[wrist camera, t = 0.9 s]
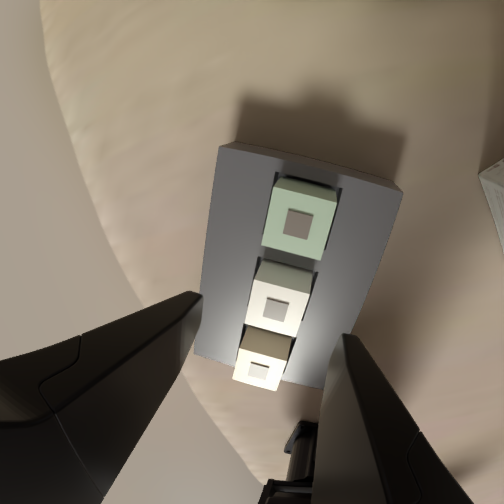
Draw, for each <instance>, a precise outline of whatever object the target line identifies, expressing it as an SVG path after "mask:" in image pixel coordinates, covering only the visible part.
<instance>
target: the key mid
mask: <svg viewBox="0 0 504 504" xmlns="http://www.w3.org/2000/svg"><path fill="white" fill-rule="evenodd" d="M312 273H313V271H312V270H309V269H305V268H301V267H297V266H293V265H290V264H286V263H282V262H278V261H274V260H271V259H267V258H263V260H262V263H261V265H260V267H259V269H258V271H257V274H256V276H255V278H254V281H253V286H252V291H251V295H250V300H249V305H248V310H247V314H246V319H245V324H248V325H252V326H255V327H259V328H262V329H266V330H270V331H273V332H277V333H281V334H285V335H288V336H292V337H296V334H297V331H298V329H299V326H300V323H301V320H302V317H303V314H304V311H305V308H306V305H307V302H308V299H309V295H310V289H311V282H312Z"/></svg>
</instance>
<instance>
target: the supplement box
mask: <svg viewBox="0 0 504 504" xmlns="http://www.w3.org/2000/svg"><path fill="white" fill-rule="evenodd" d="M478 176H479V179H480V181H481V184H482V187H483V190H484V193H485V195H486V198H487V201H488V204H489V207H490V210H491V213H492V216H493V219H494V222H495V225H496V228H497V232H498V235H499V239H500V242H501V246H502V249H503V253H504V158H503V159H502V160H500V161H498V162H497V163H495V164H493V165H492V166H490V167H489V168H487V169H485V170H484V171H482V172H481V173H479V174H478Z"/></svg>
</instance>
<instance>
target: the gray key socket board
mask: <svg viewBox="0 0 504 504" xmlns="http://www.w3.org/2000/svg"><path fill="white" fill-rule="evenodd" d="M281 176H283V177H288V178H292V179H296V180H300V181H304V182H308V183H312V184H316V185H320V186H323V187H327V188H331V189H335V190H336V198H337V205H336V209H335V212H334V216H333V219H332V223H331V226H330V230H329V233H328V237H327V240H326V244H325V247H324V250H323V254H322V257H321V260H316V259H312V258H309V257H305V256H301V255H297V254H293V253H290V252H286V251H282V250H278V249H274V248H271V247H267V246H263V245H261V243H262V239H263V234H264V229H265V224H266V220H267V215H268V210H269V205H270V200H271V195H272V191H273V186H274V185H275V184H276V182H277V181H278V180H279V178H280V177H281ZM402 196H403V192H402V191H401V189H400V188H399V187H398V186H397V185H396V184H395V183H394V182H393V181H390V180H387V179H384V178H381V177H377V176H374V175H371V174H367V173H364V172H360V171H357V170H353V169H350V168H346V167H343V166H339V165H335V164H332V163H328V162H324V161H320V160H316V159H312V158H308V157H304V156H300V155H296V154H291V153H287V152H283V151H278V150H273V149H269V148H264V147H259V146H255V145H250V144H244V143H239V142H231V143H228V144H225V145H222V146H219V149H218V156H217V162H216V169H215V175H214V182H213V189H212V196H211V203H210V210H209V218H208V225H207V233H206V241H205V249H204V257H203V266H202V275H201V283H200V293H199V294H202V295H203V297H204V302H203V311H202V320H201V324H200V327H199V330H198V332H197V334H196V337H195V343H194V354H196V355H199V356H202V357H205V358H208V359H211V360H214V361H217V362H220V363H224V364H227V365H230V366H234V367H235V365H236V361H237V356H238V351H239V347H240V345H241V342H242V340H243V337H244V335H245V332H246V330H247V327H248V324H245V319H246V314H247V310H248V305H249V300H250V295H251V291H252V286H253V281H254V278H255V276H256V274H257V271H258V269H259V267H260V265H261V263H262V260H263V258H267V259H271V260H274V261H278V262H282V263H286V264H290V265H293V266H297V267H301V268H305V269H309V270H312V271H313V273H312V282H311V289H310V295H309V299H308V302H307V305H306V308H305V311H304V314H303V317H302V320H301V323H300V326H299V329H298V331H297V334H296V337H292V339H291V344H290V349H289V354H288V359H287V363H286V365H285V368H284V371H283V374H282V376H281V379H280V380H284V381H288V382H292V383H296V384H301V385H305V386H309V387H313V388H318V389H322V390H323V389H324V387H325V381H326V376H327V370H328V364H329V360H330V357H331V354H332V352H333V350H334V348H335V346H336V343H337V341H338V339H339V337H340V335H341V334H342V333H347V334H350V333H351V331H352V329H353V327H354V324H355V322H356V320H357V318H358V315H359V313H360V311H361V308H362V306H363V304H364V301H365V299H366V296H367V294H368V291H369V289H370V287H371V284H372V282H373V279H374V276H375V274H376V271H377V269H378V266H379V263H380V261H381V258H382V255H383V253H384V250H385V247H386V244H387V242H388V239H389V236H390V233H391V230H392V227H393V224H394V221H395V218H396V215H397V212H398V209H399V206H400V203H401V200H402Z"/></svg>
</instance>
